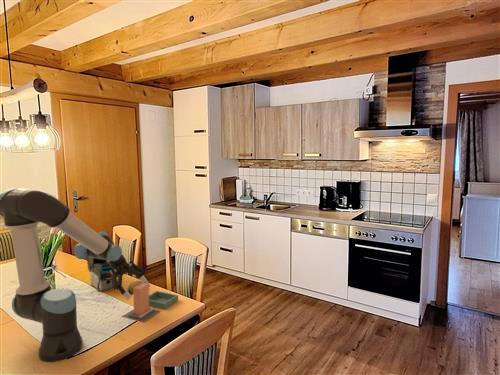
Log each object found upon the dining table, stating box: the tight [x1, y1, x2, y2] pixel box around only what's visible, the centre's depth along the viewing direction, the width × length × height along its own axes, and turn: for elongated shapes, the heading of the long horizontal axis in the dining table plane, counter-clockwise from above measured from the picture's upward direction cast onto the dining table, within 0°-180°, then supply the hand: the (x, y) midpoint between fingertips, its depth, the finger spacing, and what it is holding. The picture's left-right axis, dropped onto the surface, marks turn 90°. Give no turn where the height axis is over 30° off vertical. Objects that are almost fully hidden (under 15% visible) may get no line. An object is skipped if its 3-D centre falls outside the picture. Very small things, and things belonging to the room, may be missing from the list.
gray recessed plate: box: [120, 307, 162, 324], centre depth 155 cm, size 12×14×3 cm
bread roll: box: [127, 280, 142, 296], centre depth 182 cm, size 10×10×8 cm
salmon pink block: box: [132, 283, 150, 316], centre depth 154 cm, size 6×4×14 cm, turn 157°
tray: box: [149, 290, 179, 311], centre depth 167 cm, size 11×14×4 cm
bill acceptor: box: [86, 257, 118, 292], centre depth 188 cm, size 10×23×25 cm, turn 44°
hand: (139, 292), depth 156 cm, fingers open, 13 cm apart
